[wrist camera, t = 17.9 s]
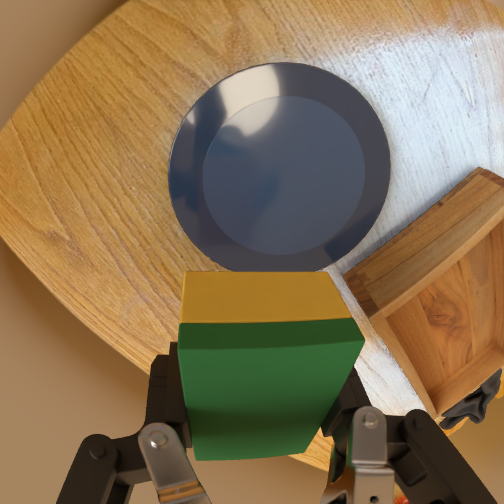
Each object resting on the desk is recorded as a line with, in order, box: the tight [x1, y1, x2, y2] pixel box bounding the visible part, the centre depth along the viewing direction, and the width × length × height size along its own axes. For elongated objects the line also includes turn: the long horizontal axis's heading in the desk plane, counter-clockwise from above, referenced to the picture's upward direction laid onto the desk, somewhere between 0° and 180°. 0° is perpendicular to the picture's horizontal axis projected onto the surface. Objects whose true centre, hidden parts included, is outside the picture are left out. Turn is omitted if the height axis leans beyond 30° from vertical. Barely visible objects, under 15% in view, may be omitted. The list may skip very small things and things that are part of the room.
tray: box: [343, 167, 504, 420], centre depth 25 cm, size 31×15×6 cm, turn 38°
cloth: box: [439, 368, 502, 430], centre depth 43 cm, size 22×19×6 cm
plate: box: [168, 62, 391, 272], centre depth 18 cm, size 14×14×1 cm
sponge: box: [177, 271, 365, 461], centre depth 11 cm, size 8×5×4 cm, turn 175°
